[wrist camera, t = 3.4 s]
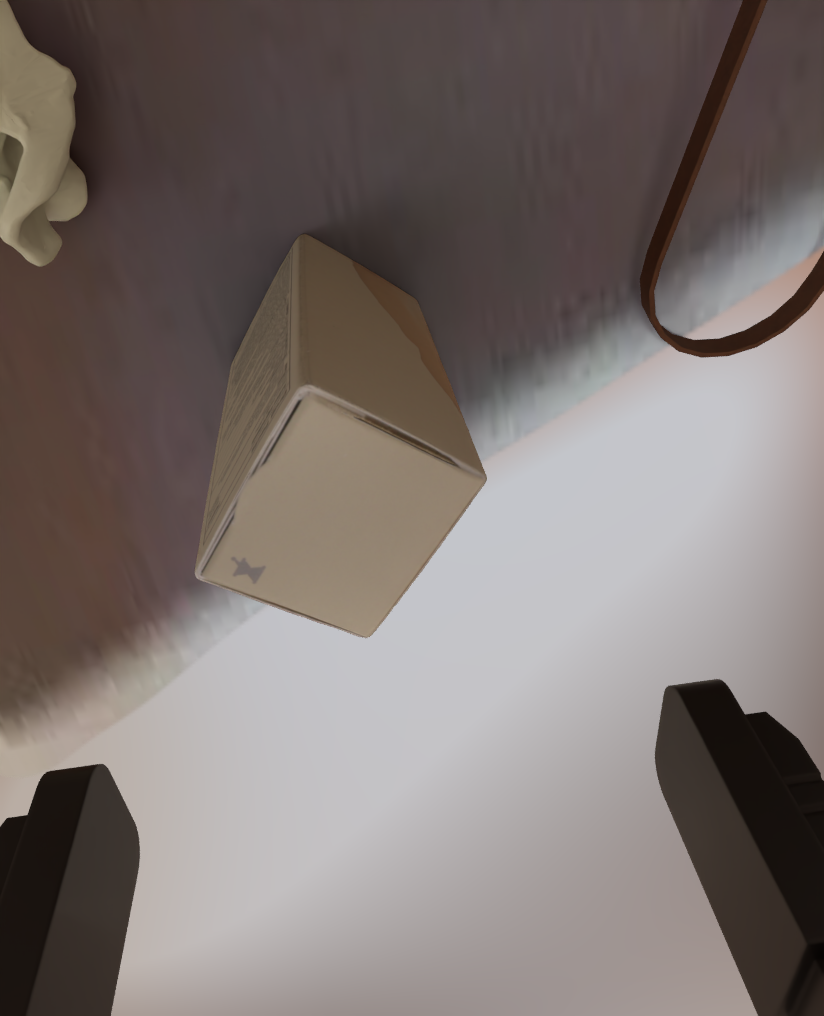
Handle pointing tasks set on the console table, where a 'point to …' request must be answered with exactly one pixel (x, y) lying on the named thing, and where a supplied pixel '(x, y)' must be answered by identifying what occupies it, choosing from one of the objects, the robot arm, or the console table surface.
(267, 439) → the box
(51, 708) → the console table surface
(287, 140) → the console table surface
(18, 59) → the bone
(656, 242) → the brown looped piece
